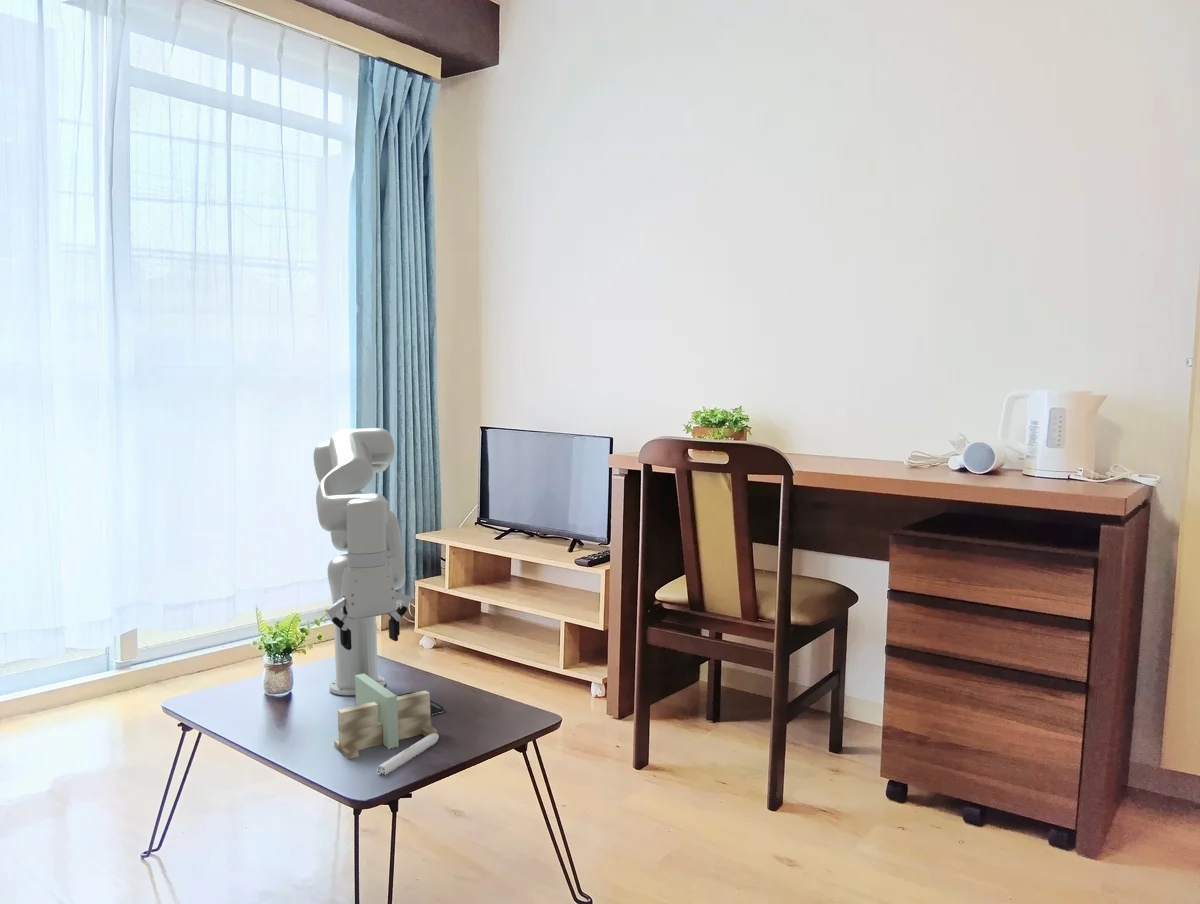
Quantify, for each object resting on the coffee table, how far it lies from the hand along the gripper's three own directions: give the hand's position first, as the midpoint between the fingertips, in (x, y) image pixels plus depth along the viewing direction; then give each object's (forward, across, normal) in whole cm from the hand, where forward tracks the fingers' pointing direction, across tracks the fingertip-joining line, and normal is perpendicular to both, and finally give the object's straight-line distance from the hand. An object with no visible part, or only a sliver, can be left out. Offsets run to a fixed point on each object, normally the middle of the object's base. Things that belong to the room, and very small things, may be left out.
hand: (370, 644), depth 175 cm
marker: (+18, -1, +17) cm, 25 cm away
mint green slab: (+18, 0, +2) cm, 18 cm away
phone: (+19, -12, -8) cm, 24 cm away
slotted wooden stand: (+18, 0, +7) cm, 19 cm away
